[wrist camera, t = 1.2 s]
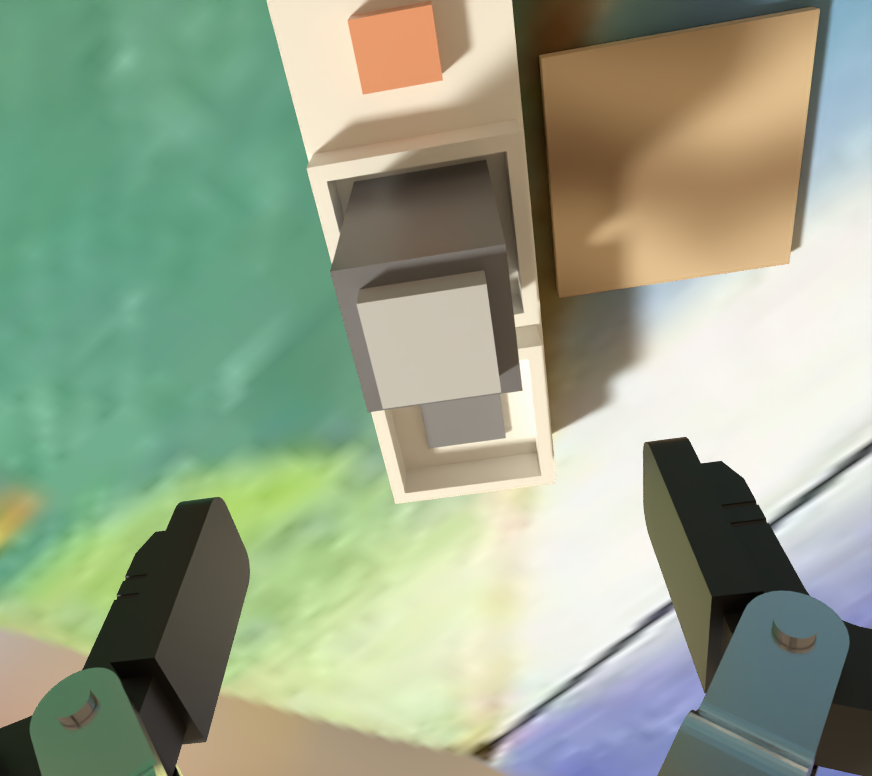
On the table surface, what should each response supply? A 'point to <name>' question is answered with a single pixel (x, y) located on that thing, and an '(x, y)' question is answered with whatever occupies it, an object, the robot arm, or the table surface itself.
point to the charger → (427, 288)
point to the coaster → (677, 151)
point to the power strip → (420, 150)
